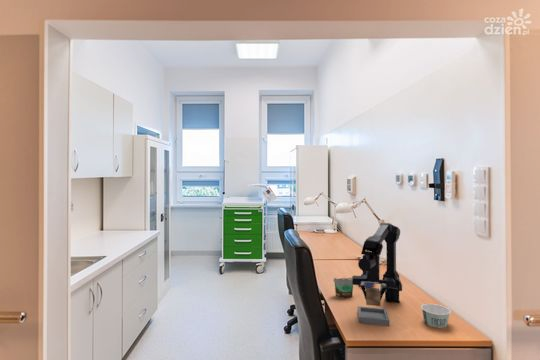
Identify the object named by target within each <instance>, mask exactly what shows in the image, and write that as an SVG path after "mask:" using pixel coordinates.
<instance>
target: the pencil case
mask: <svg viewBox="0 0 540 360" xmlns="http://www.w3.org/2000/svg"><path fill="white" fill-rule="evenodd" d="M360 276H361V278H364V279H367V278H366V275H364V274H363V273H362V274H361V275H360ZM374 284H375V283H365V288H372V287H373V286H374Z"/></svg>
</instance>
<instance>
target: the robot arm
mask: <svg viewBox="0 0 540 360" xmlns="http://www.w3.org/2000/svg"><path fill="white" fill-rule="evenodd" d="M400 235H401V229H400V228H399V227H398V226H396V225H393V224H392V223H390V222H381V223H380V224H379V227H378V228H377V229H376V231H375V233H374V234H373V235H371V236H368V237H367V238H366V239H365V241H364V242H363V244H362V249H361V252H360V254H361V255H362V258H360V259H359V260H358V263H357V264H358V267H359V269H360V270H361V271H362V274H364V275H366V278H367V279H364V278H361V275H352V277H351V278H352V284H353V286H358V288H360V289H361V291H362V293H363V296H364V299H365V300H366V287H365V283H374V284H376V285H377V284H379V285H380V287H379V290H380V302H381V300H382V299H383V296H384V299H385V301H386V302H387V303H397V304H399V303H400V302H401V301H400V292H402V291H403V283H402V281H401V280H400V274H399V273H398V271H397V242H398V240H399V239H400ZM384 241H385V244H386V248H385V250H386V253H385V254H386V270H385V272H384V274H383V275H382V279H380V271H381V270H380V268H381V267H380V265H381V264H380V256H381V255H382V251H383V248H384V246H383V245H384V244H383V242H384Z"/></svg>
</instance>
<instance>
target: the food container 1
mask: <svg viewBox="0 0 540 360" xmlns="http://www.w3.org/2000/svg"><path fill="white" fill-rule="evenodd" d="M333 282H334V293H335V296H336V297H338V298H341V299H349V298H352V297H353V292H354V285H353V284H352V277H342V278H336V277H334V278H333Z"/></svg>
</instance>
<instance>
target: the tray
mask: <svg viewBox="0 0 540 360" xmlns="http://www.w3.org/2000/svg"><path fill="white" fill-rule="evenodd" d="M357 316H358V317H357V318H358V323H359V324H369V325H378V326H390V318H389V314H388V311H387V309H386V308H382V307H381V308H380V307H372V306H371V307H370V306H359V305H358V306H357Z"/></svg>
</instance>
